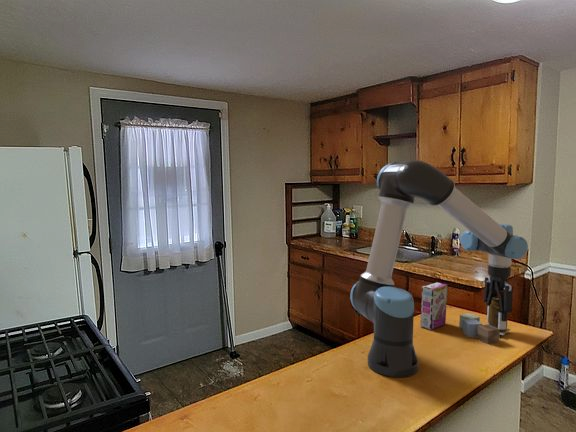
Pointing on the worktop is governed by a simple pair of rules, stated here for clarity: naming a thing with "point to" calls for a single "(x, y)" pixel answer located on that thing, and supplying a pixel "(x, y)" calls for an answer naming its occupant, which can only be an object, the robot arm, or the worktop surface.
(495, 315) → the condiment
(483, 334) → the walnut block
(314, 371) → the worktop surface
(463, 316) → the sage block
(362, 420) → the worktop surface
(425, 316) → the candy bar box
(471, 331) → the slate block
